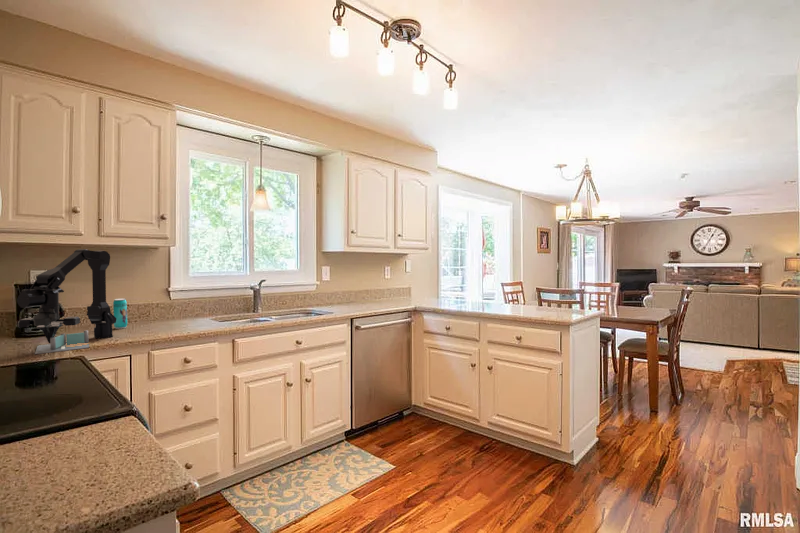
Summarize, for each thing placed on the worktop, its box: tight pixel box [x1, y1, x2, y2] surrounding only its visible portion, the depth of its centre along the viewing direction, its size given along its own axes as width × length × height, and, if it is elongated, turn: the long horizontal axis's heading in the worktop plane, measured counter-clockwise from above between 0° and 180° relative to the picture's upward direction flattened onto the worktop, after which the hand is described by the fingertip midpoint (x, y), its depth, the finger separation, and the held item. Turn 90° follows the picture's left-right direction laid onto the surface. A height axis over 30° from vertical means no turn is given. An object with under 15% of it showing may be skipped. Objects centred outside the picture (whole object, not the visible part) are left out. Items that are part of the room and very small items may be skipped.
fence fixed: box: [65, 329, 90, 345], centre depth 179 cm, size 7×2×5 cm, turn 127°
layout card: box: [34, 341, 90, 355], centre depth 175 cm, size 17×18×1 cm
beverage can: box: [112, 298, 128, 330], centre depth 217 cm, size 6×6×15 cm
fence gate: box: [49, 333, 67, 349], centre depth 173 cm, size 10×2×5 cm, turn 15°
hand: (50, 343), depth 170 cm, fingers closed
